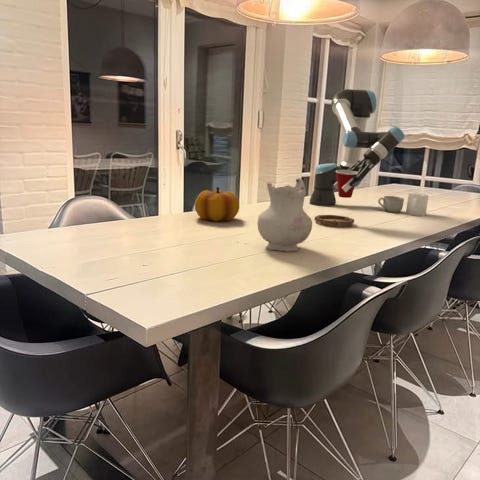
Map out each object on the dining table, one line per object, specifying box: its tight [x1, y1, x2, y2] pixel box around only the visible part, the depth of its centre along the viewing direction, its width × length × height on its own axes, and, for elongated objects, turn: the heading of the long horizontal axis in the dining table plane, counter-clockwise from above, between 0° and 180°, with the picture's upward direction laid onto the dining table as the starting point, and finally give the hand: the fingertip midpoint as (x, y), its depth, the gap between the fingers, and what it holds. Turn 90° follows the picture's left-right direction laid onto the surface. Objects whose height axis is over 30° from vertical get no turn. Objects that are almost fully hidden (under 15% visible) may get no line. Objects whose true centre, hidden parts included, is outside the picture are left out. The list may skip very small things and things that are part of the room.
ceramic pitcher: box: [256, 177, 313, 253], centre depth 172 cm, size 22×20×25 cm
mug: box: [405, 192, 429, 217], centre depth 258 cm, size 14×10×11 cm
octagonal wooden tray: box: [314, 214, 355, 229], centre depth 222 cm, size 17×17×4 cm
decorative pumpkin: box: [194, 186, 240, 223], centre depth 218 cm, size 20×22×15 cm
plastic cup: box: [336, 170, 357, 199], centre depth 220 cm, size 11×11×12 cm
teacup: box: [377, 195, 405, 214], centre depth 264 cm, size 14×11×8 cm
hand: (339, 188), depth 220 cm, fingers closed on plastic cup, 9 cm apart
